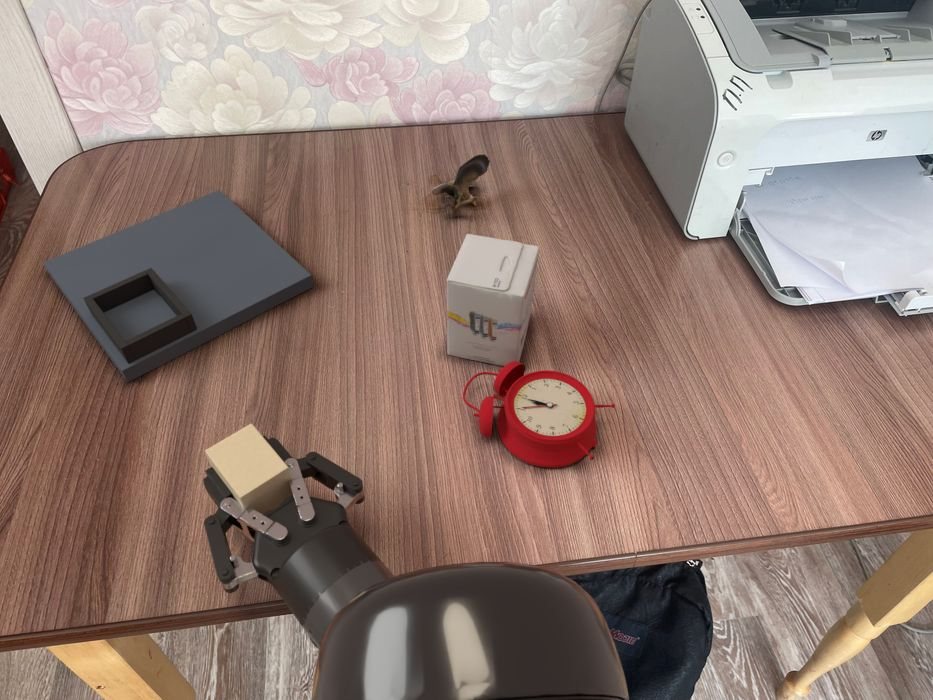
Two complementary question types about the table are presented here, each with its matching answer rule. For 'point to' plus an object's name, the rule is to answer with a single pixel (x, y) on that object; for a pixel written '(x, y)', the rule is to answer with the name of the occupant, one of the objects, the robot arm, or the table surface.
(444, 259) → the table surface
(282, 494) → the tan rectangular block
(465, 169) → the eagle figurine
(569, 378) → the alarm clock
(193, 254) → the dark gray square slab
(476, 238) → the ink box
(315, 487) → the table surface
